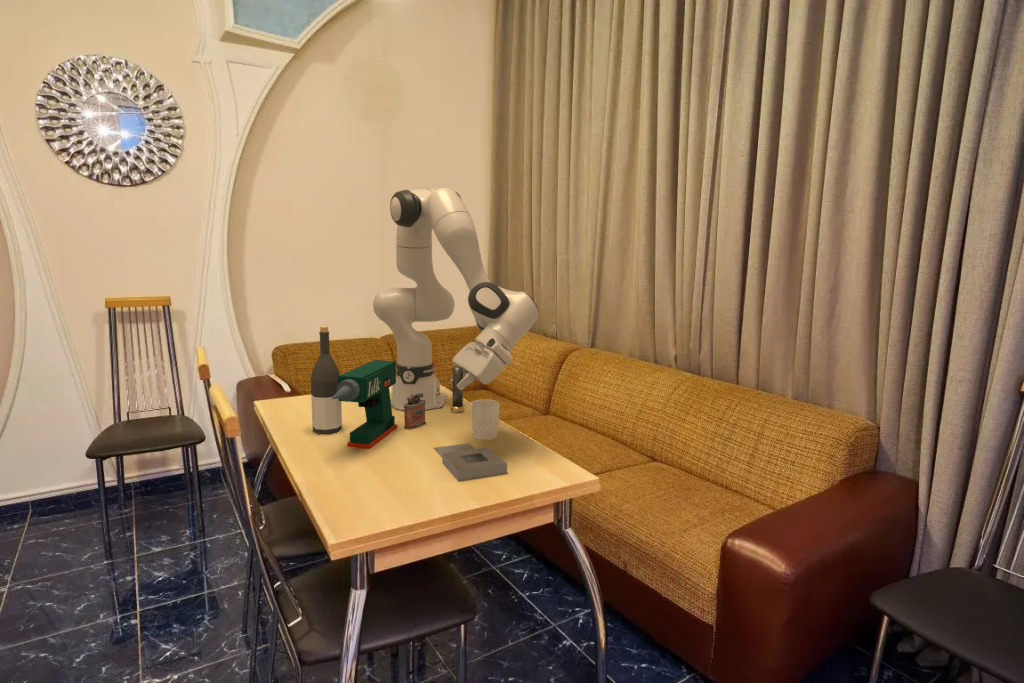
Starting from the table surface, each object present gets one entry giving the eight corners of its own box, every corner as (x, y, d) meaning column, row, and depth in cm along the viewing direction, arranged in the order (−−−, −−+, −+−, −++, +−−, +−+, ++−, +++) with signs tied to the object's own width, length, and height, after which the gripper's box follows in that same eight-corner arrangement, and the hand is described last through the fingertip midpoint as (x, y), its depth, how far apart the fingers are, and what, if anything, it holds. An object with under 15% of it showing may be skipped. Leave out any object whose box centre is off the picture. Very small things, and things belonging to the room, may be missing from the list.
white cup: (499, 433, 170) (499, 399, 168) (498, 442, 162) (499, 407, 160) (471, 432, 170) (472, 399, 168) (469, 442, 162) (470, 406, 160)
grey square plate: (433, 449, 155) (433, 447, 155) (468, 444, 159) (468, 443, 159) (444, 462, 146) (444, 460, 146) (482, 457, 150) (482, 455, 150)
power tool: (347, 468, 142) (345, 386, 139) (320, 465, 143) (318, 384, 140) (399, 428, 173) (398, 360, 169) (376, 426, 174) (375, 359, 171)
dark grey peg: (452, 408, 153) (452, 365, 151) (466, 409, 153) (466, 366, 151) (448, 413, 150) (448, 368, 148) (462, 414, 149) (462, 369, 147)
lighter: (410, 431, 169) (409, 398, 168) (401, 429, 171) (400, 396, 170) (428, 425, 176) (428, 392, 174) (419, 423, 178) (419, 390, 176)
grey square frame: (442, 464, 145) (442, 453, 144) (487, 458, 150) (488, 447, 149) (458, 483, 134) (458, 470, 134) (506, 475, 139) (507, 463, 139)
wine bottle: (325, 437, 164) (321, 329, 159) (306, 431, 168) (302, 326, 163) (348, 429, 170) (345, 326, 165) (329, 424, 175) (326, 323, 170)
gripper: (469, 331, 160) (434, 369, 158) (499, 345, 142) (460, 388, 140) (484, 346, 163) (450, 384, 161) (515, 361, 144) (477, 404, 142)
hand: (455, 386), depth 150 cm, fingers closed on dark grey peg, 3 cm apart
